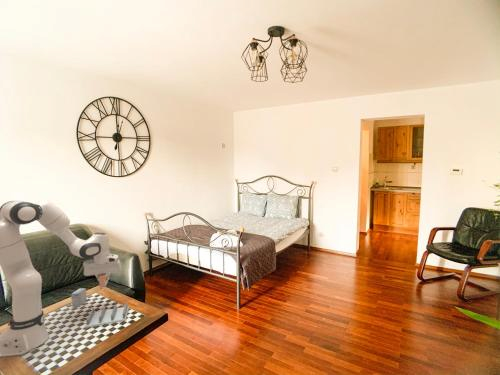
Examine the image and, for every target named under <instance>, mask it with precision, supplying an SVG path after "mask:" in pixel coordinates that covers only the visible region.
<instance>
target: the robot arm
mask: <svg viewBox="0 0 500 375" xmlns="http://www.w3.org/2000/svg"><path fill="white" fill-rule="evenodd" d="M35 221H36V222H38V223H39V224H40V225H41V226H42V227H44V228H45V229H46V230H47V231H49V232H50V233H52V234H54V235H56V236H57V237H59V239H60V240H61V241H62V242H63V243H64V244H65V245H66V247H67V250H68V252H69V253H70V255H72V256H75V257H79V258H81V259H85V260H84V261H83V263H82V265H83V275H84V276H85V277H90V276H95V278H96V279H97V282H99V275H100V274H106V273H107V274H108V276H107V277H106V280H108V281H109V280H110V276H111V274H113V273H120V271H121V270H122V263H121V260H120V259H119V255H118V254H114V253H111V251H110V239H109V234H107V233H105V232H94V233H93V234H92V235H91V236H90V237H89V238H87V239H83V238H79V237H77V236H76V235H75V234H74V233H73V232H72V231H71V229H70V228H69V226H70V225H71V220H70V219H69V217H68V215H67V214H66V213H65V212H64V211H63V210H62V209H61V208H60V207H58V206H57V205H56V204H55V203H53V202H51V201H50V200H49V199H48V200H47V199H41V200H38V201H37V202H35V203H32V202H27V201H23V200H11V201H7V202H4V203H3V204H2V205H1V206H0V267H1V270H2V273H3V275H4V277H5V279H6V281H7V283H8V285H9V286H10V288H11V294H12V297H11V298H12V301H11V310H12V319H11V320H9V322H8V323H7V328H6V330H5V331H3V332H2V333H1V334H0V358H2V357H14V356H22V355H25V354H27V353H28V352H29V351H31V350H34V349H36V348H38V347H40V346H41V345H43V344H44V343H46V342H47V340H49V338H50V334H49V332H48V330H47V328H46V324H45V314H44V313H45V312H44V310H43V305H42V284H43V278H42V275H41V273H40V272H38V270H36V269H35V267H34V265H33V263H32V260H31V256H30V253H29V250H28V248H27V245H26V243H25V240H24V239H23V236H22V235H21V232H20V227H21V225H28V224H31V223H33V222H35ZM90 258H92V259H90ZM86 259H87V260H86Z"/></svg>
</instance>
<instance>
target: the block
mask: <svg viewBox="0 0 500 375" xmlns="http://www.w3.org/2000/svg"><path fill="white" fill-rule="evenodd" d="M98 276H99V281H98V283H99V288H101V289H102V288H105V287H106V286H107V284H108V282H109V280H106V277H107V276H108V273H106V274H99V275H98Z"/></svg>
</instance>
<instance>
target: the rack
mask: <svg viewBox="0 0 500 375" xmlns="http://www.w3.org/2000/svg"><path fill="white" fill-rule="evenodd" d="M117 306H118V305H117V304H114V305H113V308H112V309H106V307H107V306H103V307H102V310H100V311H95V308H93V307H92V308H91V311H90V312H89V314H88V316H87V318H86V324H85V329H88V328H94V327H98V326H99V325H100V326H103V325H104V324H105V325H111V324H114V323H116V324H117V323H120V322H124V321H125V322H126V321H127V316H128V313H129V309H130V306H129V305H128V302H125V304H124V306H123V307H117ZM105 325H104V326H105ZM100 326H99V327H100Z"/></svg>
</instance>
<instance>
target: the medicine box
mask: <svg viewBox="0 0 500 375" xmlns="http://www.w3.org/2000/svg"><path fill="white" fill-rule="evenodd" d="M70 297H71V298H70V299H71V308H80V307H81V306H82V305H83V304H84V303H85V302H87V300H88V299H87V298H88V297H87V289H86V288H83V287H82V288H78V289H77V290H75V291H73V292H72V293H71V295H70Z"/></svg>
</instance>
